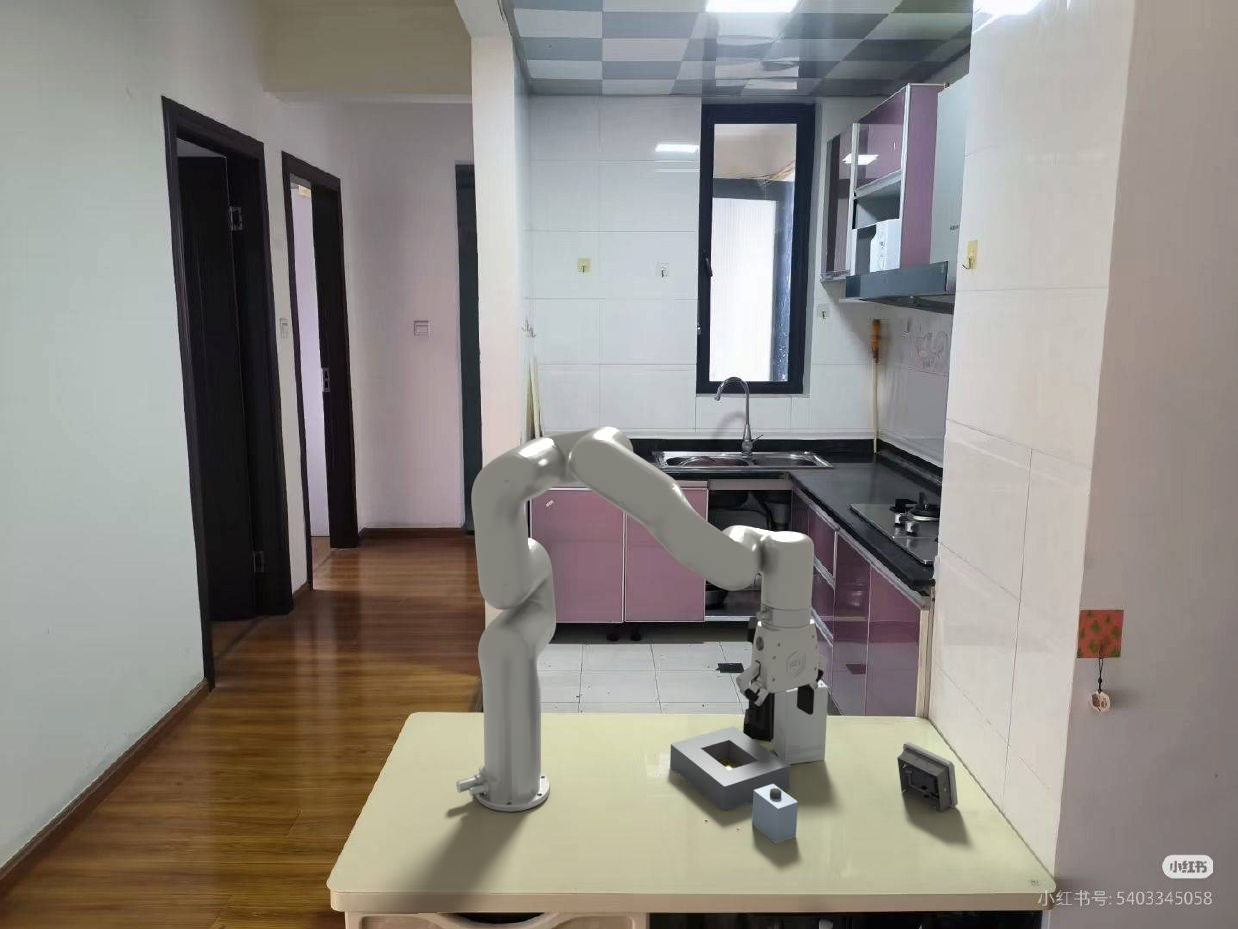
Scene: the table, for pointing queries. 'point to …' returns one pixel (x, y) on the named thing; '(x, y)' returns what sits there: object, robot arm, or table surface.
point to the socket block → (728, 766)
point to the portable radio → (769, 702)
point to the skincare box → (800, 727)
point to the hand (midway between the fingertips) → (781, 718)
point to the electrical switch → (927, 777)
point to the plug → (774, 813)
